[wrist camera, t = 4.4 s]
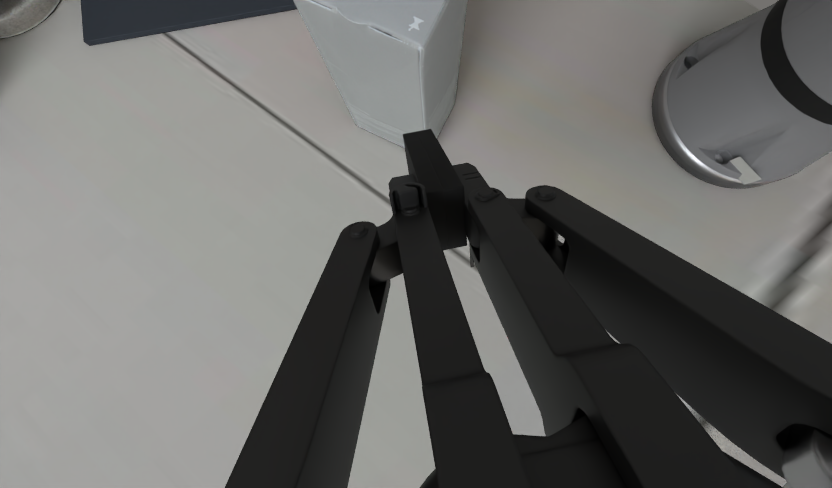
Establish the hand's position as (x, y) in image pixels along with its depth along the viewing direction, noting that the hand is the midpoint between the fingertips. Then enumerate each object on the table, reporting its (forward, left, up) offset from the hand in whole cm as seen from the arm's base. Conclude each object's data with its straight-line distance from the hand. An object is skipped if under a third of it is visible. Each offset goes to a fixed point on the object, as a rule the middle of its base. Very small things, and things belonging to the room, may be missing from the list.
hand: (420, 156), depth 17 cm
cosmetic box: (0, -10, -14) cm, 17 cm away
